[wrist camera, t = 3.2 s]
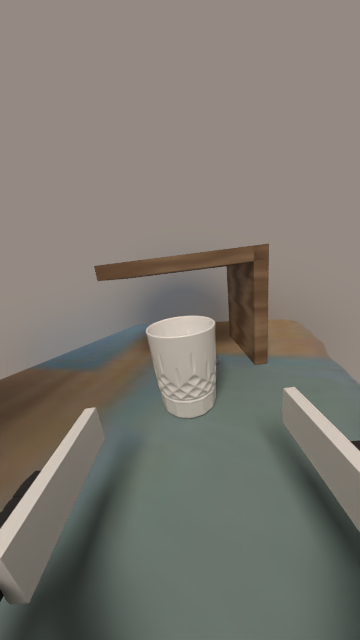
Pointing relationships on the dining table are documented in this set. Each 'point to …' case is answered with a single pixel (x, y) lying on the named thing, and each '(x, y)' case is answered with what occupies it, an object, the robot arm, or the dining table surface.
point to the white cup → (185, 363)
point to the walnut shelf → (243, 288)
